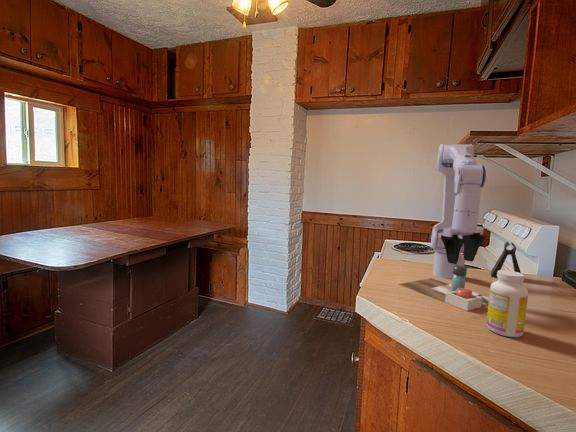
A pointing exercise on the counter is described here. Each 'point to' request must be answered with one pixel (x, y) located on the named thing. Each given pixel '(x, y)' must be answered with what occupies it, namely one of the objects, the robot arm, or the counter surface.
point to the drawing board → (437, 290)
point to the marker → (458, 277)
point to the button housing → (463, 301)
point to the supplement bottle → (507, 304)
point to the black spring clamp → (502, 260)
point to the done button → (464, 293)
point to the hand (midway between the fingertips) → (460, 262)
